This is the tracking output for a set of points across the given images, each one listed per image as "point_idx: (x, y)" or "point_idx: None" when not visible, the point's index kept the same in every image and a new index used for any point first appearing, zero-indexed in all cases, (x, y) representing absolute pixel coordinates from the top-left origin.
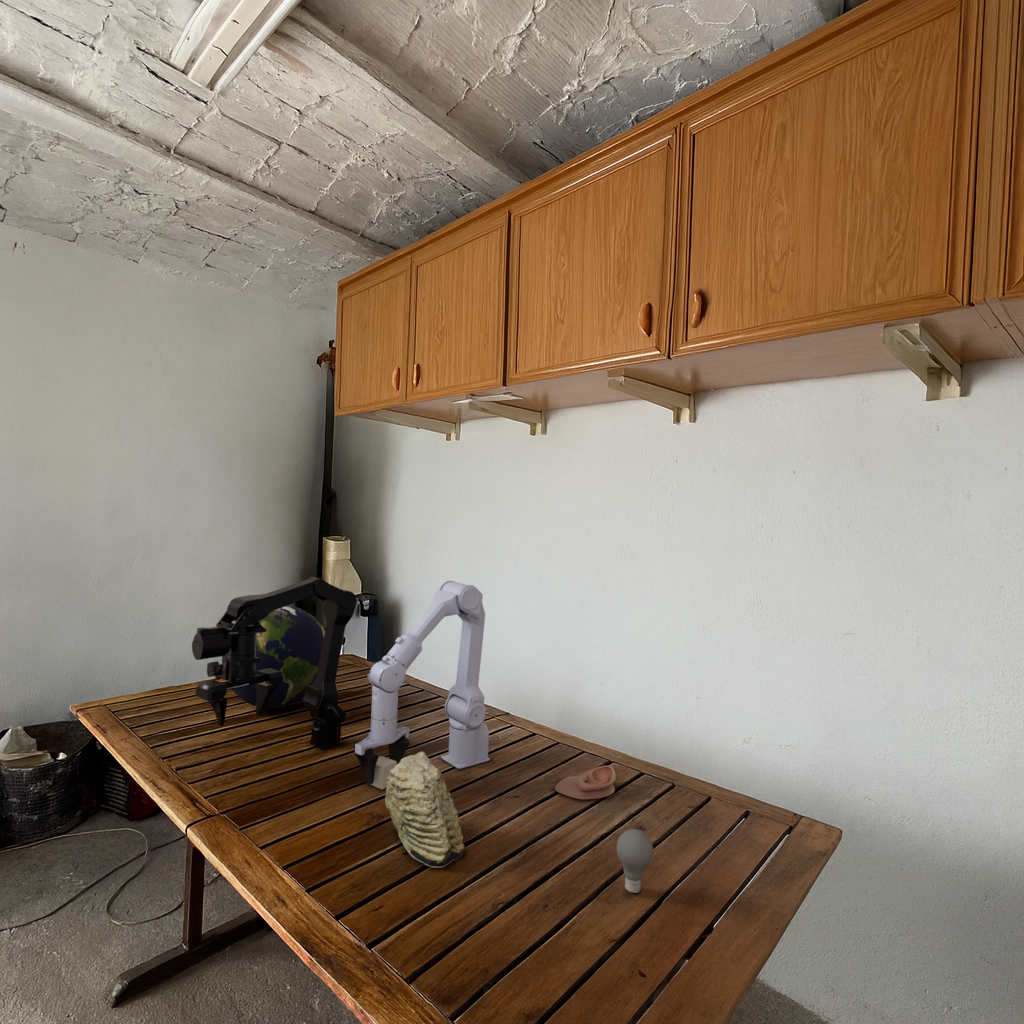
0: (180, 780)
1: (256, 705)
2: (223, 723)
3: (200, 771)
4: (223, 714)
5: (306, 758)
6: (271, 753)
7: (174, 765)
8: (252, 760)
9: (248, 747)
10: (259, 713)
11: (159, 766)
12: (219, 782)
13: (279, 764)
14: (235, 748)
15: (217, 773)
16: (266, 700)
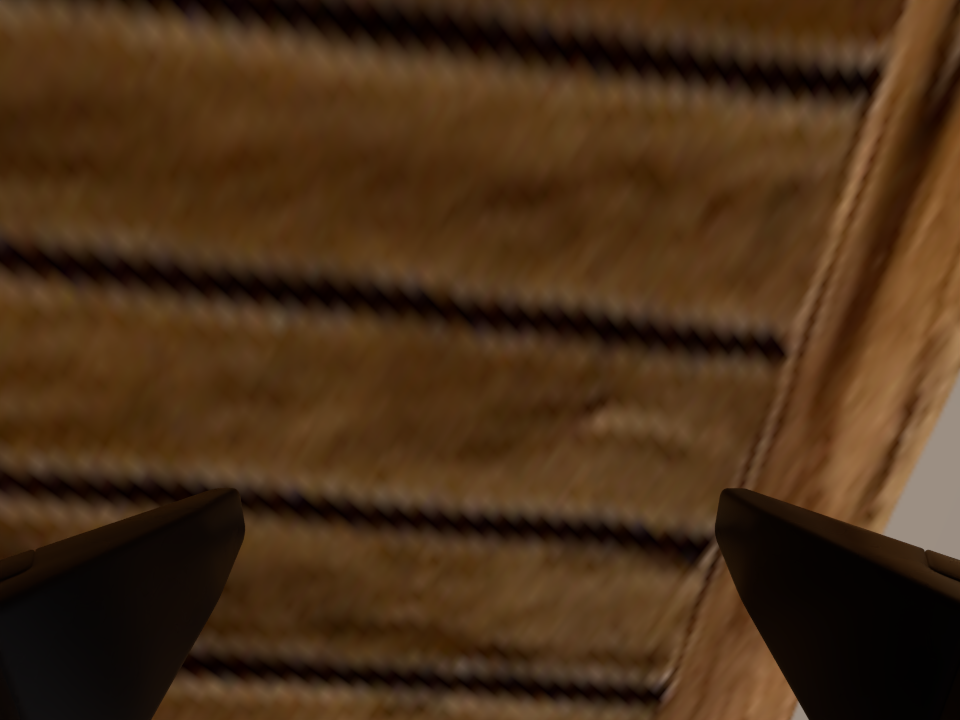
0: (783, 418)
1: (194, 632)
2: (745, 496)
3: (644, 445)
4: (869, 545)
5: (43, 115)
6: (206, 373)
7: (677, 597)
8: (351, 366)
9: (273, 539)
10: (224, 497)
11: (728, 632)
12: (675, 226)
13: (250, 176)
14: (336, 574)
15: (602, 353)
16: (30, 567)
